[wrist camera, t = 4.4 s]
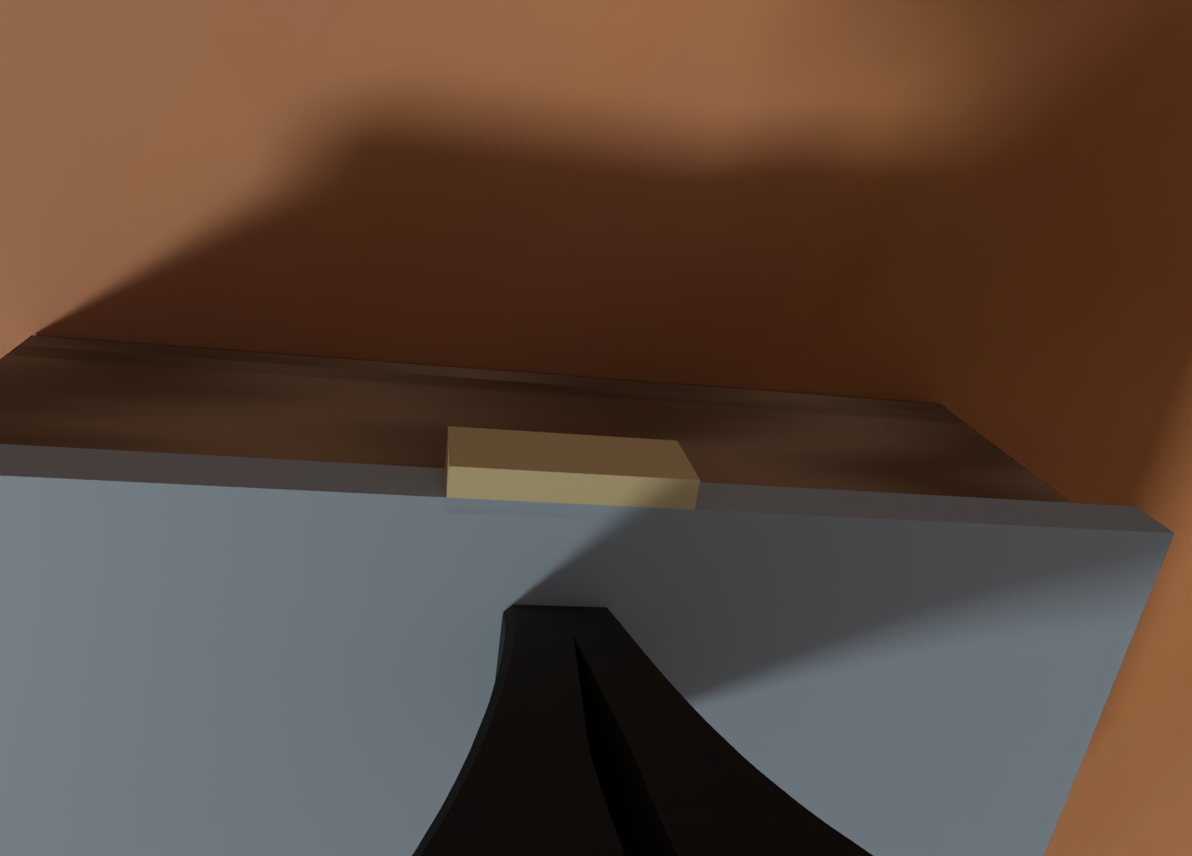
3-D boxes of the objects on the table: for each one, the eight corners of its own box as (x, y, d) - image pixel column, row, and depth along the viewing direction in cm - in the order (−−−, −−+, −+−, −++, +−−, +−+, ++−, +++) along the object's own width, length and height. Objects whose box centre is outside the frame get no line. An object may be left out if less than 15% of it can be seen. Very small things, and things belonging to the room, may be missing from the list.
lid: (1125, 469, 14) (1184, 506, 13) (905, 1061, 18) (934, 1126, 17) (-164, 387, 11) (-233, 428, 9) (-35, 1128, 15) (-72, 1212, 14)
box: (939, 403, 18) (1107, 530, 14) (806, 868, 23) (899, 1080, 18) (31, 335, 15) (-144, 469, 11) (83, 888, 20) (-24, 1150, 15)
